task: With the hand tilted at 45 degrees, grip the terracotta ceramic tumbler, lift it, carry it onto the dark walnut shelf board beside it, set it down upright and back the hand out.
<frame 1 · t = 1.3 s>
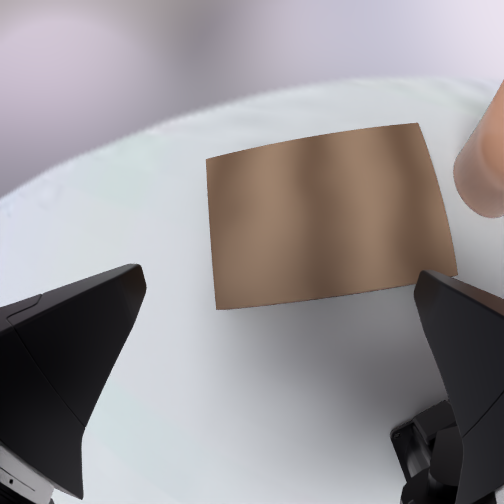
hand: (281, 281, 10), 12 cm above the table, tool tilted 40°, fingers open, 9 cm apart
tumbler: (485, 180, 19), on the table
shelf board: (327, 217, 22), on the table
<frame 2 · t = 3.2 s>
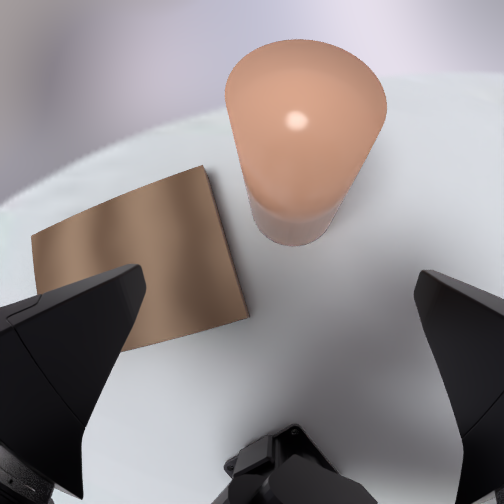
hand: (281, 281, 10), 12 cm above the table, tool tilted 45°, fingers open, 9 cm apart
tumbler: (292, 206, 23), on the table
shelf board: (128, 275, 23), on the table
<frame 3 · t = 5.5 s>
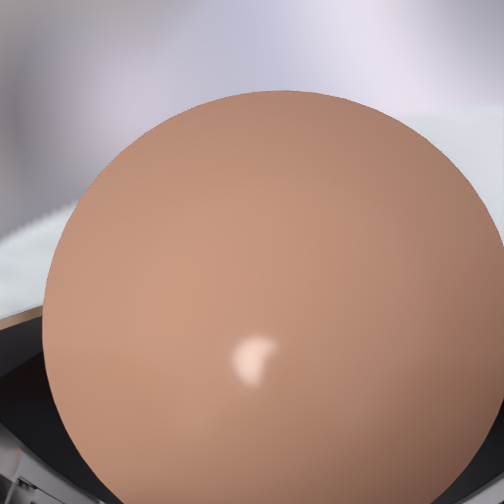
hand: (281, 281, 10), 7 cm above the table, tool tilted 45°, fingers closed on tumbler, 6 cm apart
tumbler: (279, 327, 16), on the table, touching gripper
shelf board: (71, 397, 16), on the table
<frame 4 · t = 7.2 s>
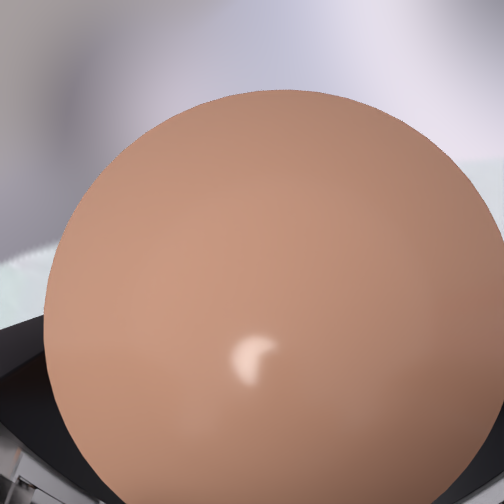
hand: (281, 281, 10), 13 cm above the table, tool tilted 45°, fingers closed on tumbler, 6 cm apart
tumbler: (279, 327, 16), point 7 cm above the table, touching gripper
when the fingers open (10 cm above the table, at t = 9.4 s): tumbler drops 1 cm, resting on shelf board.
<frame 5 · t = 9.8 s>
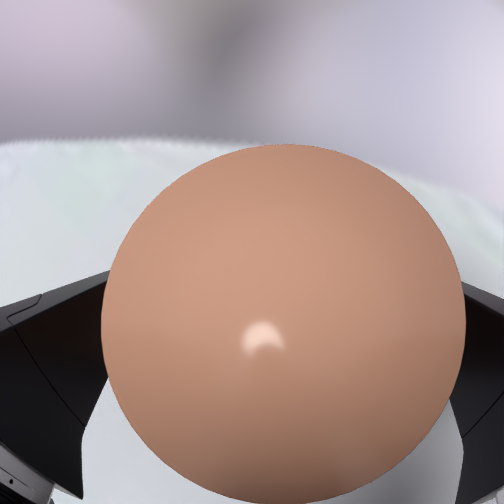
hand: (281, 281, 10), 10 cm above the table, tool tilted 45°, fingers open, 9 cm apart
tumbler: (279, 328, 17), point 2 cm above the table, touching shelf board
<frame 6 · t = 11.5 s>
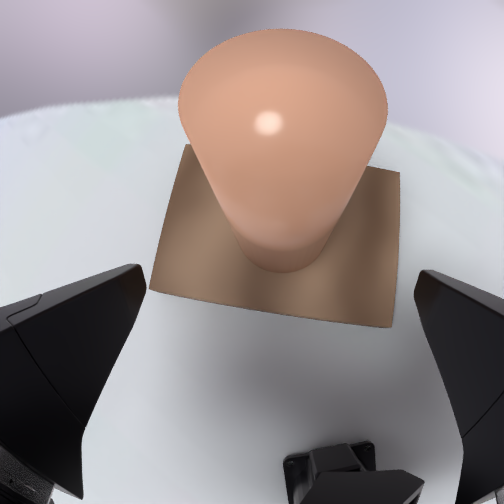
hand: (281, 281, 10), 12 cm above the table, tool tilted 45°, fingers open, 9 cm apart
tumbler: (282, 227, 21), point 2 cm above the table, touching shelf board
shelf board: (281, 235, 23), on the table
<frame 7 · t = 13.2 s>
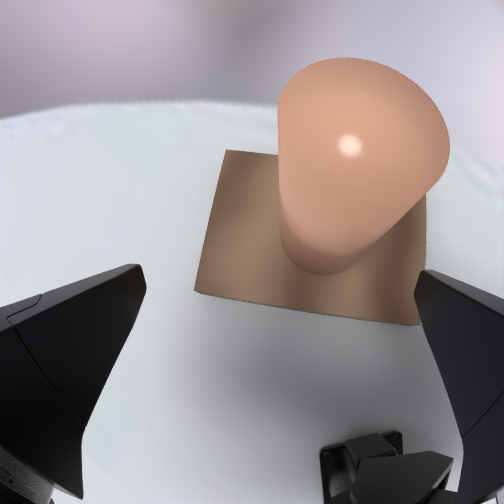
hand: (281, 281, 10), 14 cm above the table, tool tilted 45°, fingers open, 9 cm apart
tumbler: (322, 232, 22), point 2 cm above the table, touching shelf board
shelf board: (318, 239, 24), on the table
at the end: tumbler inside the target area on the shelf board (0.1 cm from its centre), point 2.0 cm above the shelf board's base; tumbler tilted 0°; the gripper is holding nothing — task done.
